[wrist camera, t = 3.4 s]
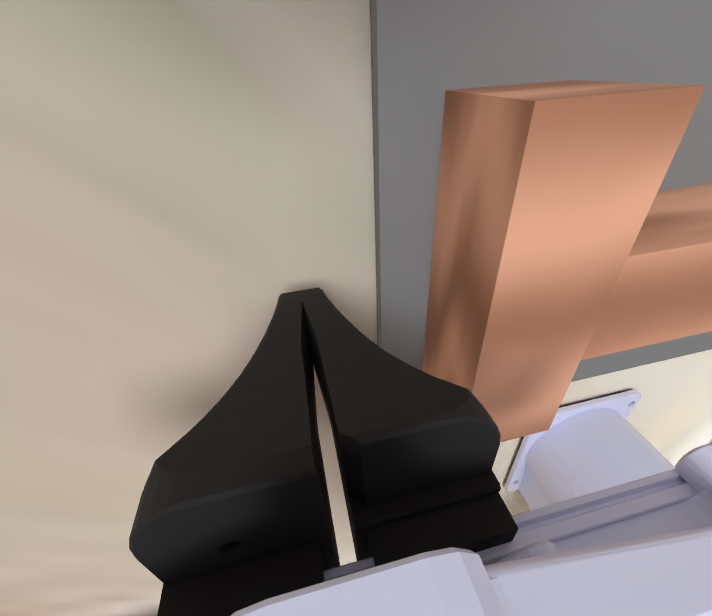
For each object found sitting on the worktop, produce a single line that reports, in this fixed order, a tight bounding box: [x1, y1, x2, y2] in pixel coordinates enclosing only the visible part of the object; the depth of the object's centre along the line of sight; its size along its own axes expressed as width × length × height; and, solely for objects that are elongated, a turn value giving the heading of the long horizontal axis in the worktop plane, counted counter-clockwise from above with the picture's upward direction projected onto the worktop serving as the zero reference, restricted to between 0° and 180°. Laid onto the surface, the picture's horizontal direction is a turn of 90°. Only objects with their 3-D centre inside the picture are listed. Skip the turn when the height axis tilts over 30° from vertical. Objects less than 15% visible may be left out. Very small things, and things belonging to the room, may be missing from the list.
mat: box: [370, 0, 712, 382], centre depth 15 cm, size 18×30×1 cm, turn 93°
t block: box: [422, 80, 712, 442], centre depth 13 cm, size 12×12×4 cm
